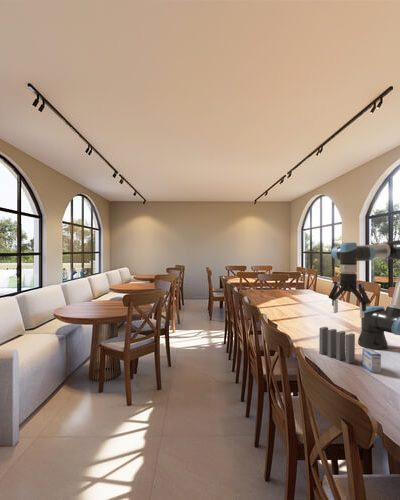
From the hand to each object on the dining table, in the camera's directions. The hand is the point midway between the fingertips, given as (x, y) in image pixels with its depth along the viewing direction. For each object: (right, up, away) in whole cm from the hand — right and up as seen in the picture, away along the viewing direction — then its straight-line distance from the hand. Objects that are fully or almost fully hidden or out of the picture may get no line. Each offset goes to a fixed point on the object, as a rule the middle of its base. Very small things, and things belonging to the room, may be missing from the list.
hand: (348, 315), depth 151 cm
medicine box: (+6, -24, -10) cm, 26 cm away
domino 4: (0, -23, -1) cm, 23 cm away
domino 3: (-2, -23, +3) cm, 24 cm away
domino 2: (-5, -23, +7) cm, 25 cm away
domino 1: (-8, -23, +12) cm, 27 cm away
